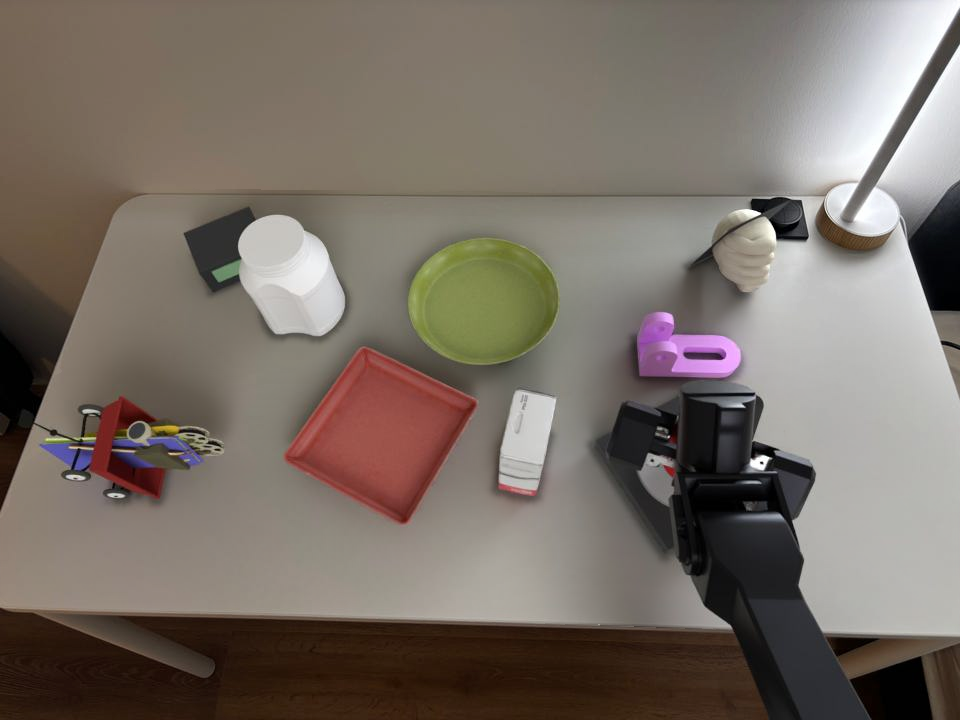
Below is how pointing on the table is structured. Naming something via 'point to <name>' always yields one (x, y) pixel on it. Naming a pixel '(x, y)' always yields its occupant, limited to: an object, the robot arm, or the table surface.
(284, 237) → the jar
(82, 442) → the toy cart
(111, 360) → the table surface
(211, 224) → the scale display
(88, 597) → the table surface
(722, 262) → the decorative object
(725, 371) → the bracket
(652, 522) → the scale
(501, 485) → the ink box
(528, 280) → the saucer
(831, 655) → the robot arm
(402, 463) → the plant saucer
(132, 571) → the table surface
